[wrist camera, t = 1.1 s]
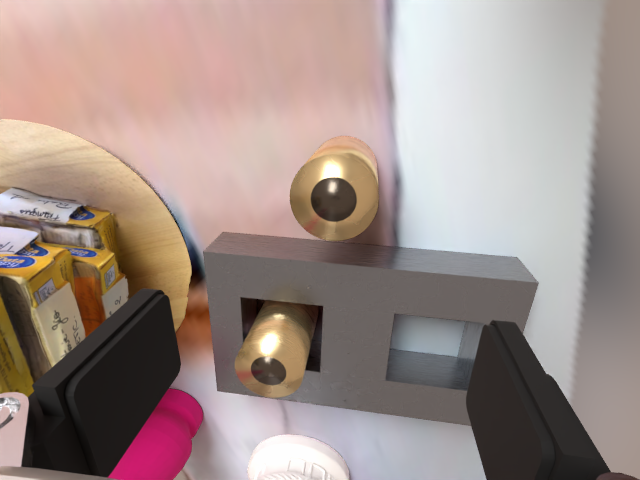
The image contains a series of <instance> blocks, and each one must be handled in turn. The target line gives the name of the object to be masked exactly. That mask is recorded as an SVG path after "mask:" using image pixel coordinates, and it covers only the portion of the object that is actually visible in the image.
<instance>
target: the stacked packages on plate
mask: <svg viewBox="0 0 640 480" xmlns="http://www.w3.org/2000/svg"><path fill="white" fill-rule="evenodd" d="M191 273H192V271H191V263H190V258H189V254H188V251H187V248H186V244H185V242H184V239H183V237H182V234H181V232H180V230H179V228H178V226H177V224H176V222H175V221H174V219H173V217H172V216H171V214H170V212H169V211H168V209H167V208H166V206H165V205H164V204H163V202H162V201H161V200H160V199H159V197H158V196H157V195H156V194H155V192H154V191H153V190H152V189H151V188H150V187H149V186H148V185H147V184H146V183H145V182H144V181H143V180H142V179H141V178H140V177H139V176H138V175H137V174H136V173H135V172H133V171H132V170H131V169H130V168H129V167H127V166H126V165H125V164H124V163H122V162H121V161H119V160H118V159H117V158H116V157H114V156H112V155H111V154H110V153H108V152H106V151H105V150H103V149H102V148H100V147H98V146H96V145H94V144H92V143H90V142H88V141H86V140H84V139H82V138H80V137H78V136H76V135H73V134H71V133H68V132H66V131H63V130H60V129H57V128H54V127H50V126H47V125H42V124H38V123H33V122H27V121H20V120H10V119H0V394H2V393H8V392H18V393H22V394H24V395H25V396H26V397H29V396H30V395H31V394H32V393H33V392H34V389H33V387H32V385H33V384H34V383H35V382H36V381H37V380H38V379H39V378H40V377H42V376H43V375H44V374H45V373H46V372H47V371H48V370H50V369H51V368H52V367H53V366H54V365H55V364H56V363H58V362H59V361H60V360H61V359H62V358H63V357H64V356H65V355H67V354H68V353H69V352H70V351H71V350H72V349H73V348H75V347H76V346H77V345H78V344H79V343H80V342H81V341H82V340H84V339H85V338H86V337H87V336H88V335H89V334H90V333H92V332H93V331H94V330H95V329H96V328H97V327H98V326H100V325H101V324H102V323H103V322H104V321H105V320H106V319H107V318H109V317H110V316H111V315H112V314H113V313H114V312H115V311H117V310H118V309H119V308H120V307H121V306H122V305H123V304H125V303H126V302H127V301H128V300H129V299H130V298H131V297H132V296H134V295H135V294H136V293H137V292H138V291H139V290H141V289H143V288H146V289H157V290H162V291H163V292H164V294H165V295H167V296H168V297H169V300H170V305H171V311H172V316H173V322H174V328H175V332H176V331H177V329H178V328H179V326H180V325H181V323H182V321H183V319H184V317H185V313H186V312H185V309H186V307H187V301H188V297H186V296H187V293H188V290H189V288H188V287H189V283H190V276H191Z"/></svg>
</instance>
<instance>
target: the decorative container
mask: <svg viewBox="0 0 640 480" xmlns="http://www.w3.org/2000/svg"><path fill="white" fill-rule="evenodd" d="M247 473H248V478H249V480H349V469H348V467H347V465H346V462H345V460H344V459H343V458H342V457H341V456H340V455H339V453H338V452H337V451H335V450H334V449H333V448H331V447H330V446H329V445H327V444H325V443H323V442H321V441H319V440H317V439H314V438H310V437H307V436H303V435H292V434H285V435H277V436H273V437H271V438H268V439H265V440H264V441H262V442H261V443H260V444H259V445H257V446H256V448H255V449H254V451H253V453H252V455H251V458H250V461H249V464H248V470H247Z"/></svg>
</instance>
